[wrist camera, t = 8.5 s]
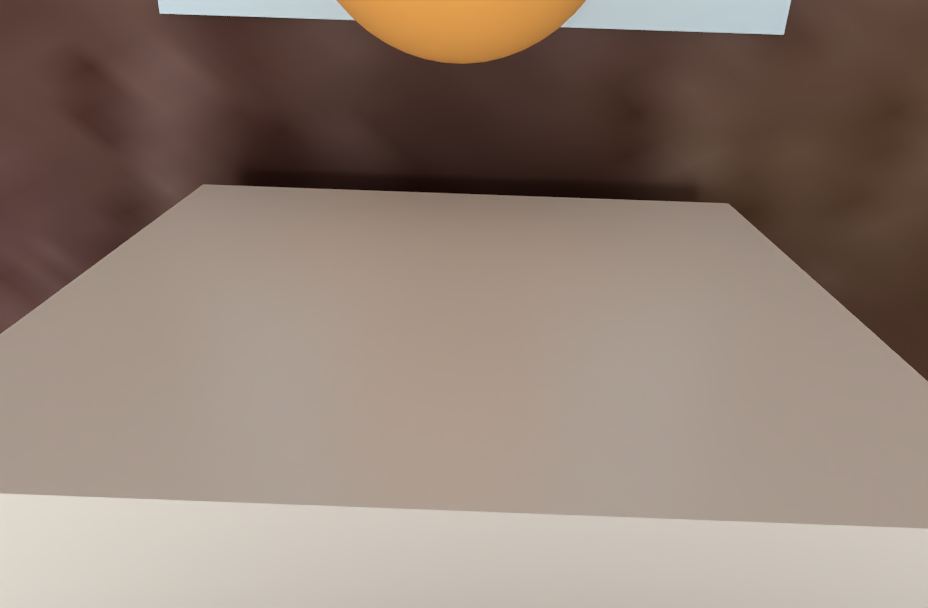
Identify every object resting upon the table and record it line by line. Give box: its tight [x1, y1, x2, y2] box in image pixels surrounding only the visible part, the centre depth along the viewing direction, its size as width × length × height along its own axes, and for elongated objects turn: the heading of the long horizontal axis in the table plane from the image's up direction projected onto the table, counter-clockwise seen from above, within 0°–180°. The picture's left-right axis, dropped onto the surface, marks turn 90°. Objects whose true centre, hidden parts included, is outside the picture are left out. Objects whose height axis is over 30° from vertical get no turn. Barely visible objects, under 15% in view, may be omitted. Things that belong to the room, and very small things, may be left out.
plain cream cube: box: [0, 184, 928, 608], centre depth 12 cm, size 10×10×9 cm
